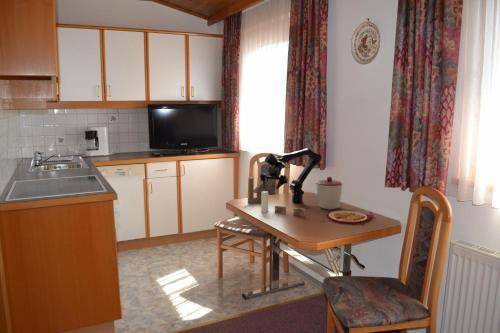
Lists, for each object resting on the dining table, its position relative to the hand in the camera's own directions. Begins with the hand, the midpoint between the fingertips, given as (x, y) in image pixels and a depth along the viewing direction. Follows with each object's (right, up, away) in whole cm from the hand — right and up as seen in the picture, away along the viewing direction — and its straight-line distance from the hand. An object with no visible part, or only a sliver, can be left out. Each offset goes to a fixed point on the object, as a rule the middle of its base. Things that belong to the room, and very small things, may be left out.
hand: (270, 188), depth 268 cm
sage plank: (-4, -15, -5) cm, 16 cm away
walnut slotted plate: (+12, -16, -13) cm, 23 cm away
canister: (+40, -13, +4) cm, 42 cm away
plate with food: (+46, -18, -23) cm, 54 cm away
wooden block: (-9, -11, +20) cm, 25 cm away
